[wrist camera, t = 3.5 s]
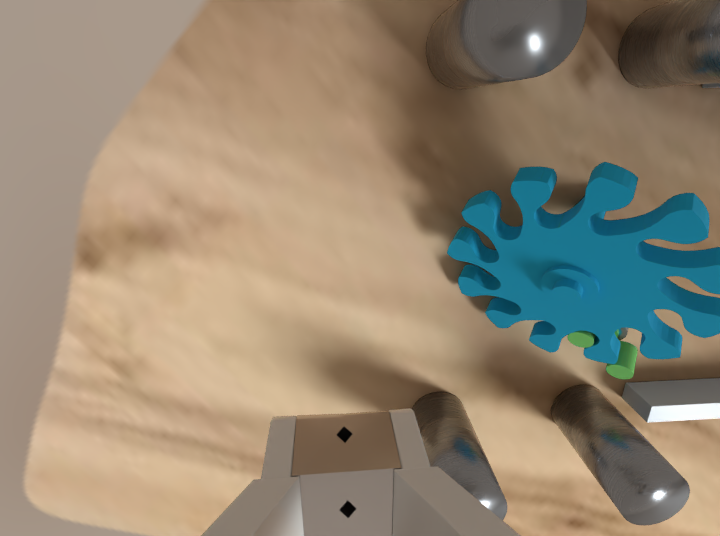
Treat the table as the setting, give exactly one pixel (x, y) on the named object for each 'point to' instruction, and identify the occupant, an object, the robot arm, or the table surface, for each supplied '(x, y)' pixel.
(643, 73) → the spacer posts
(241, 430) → the table surface
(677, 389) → the u-shaped bent rod
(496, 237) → the gear
